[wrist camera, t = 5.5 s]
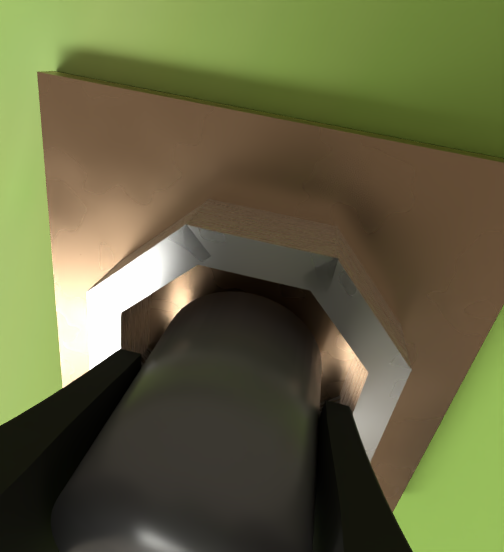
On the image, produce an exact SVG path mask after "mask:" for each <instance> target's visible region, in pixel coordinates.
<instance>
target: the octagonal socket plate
mask: <svg viewBox="0 0 504 552" xmlns="http://www.w3.org/2000/svg"><path fill="white" fill-rule="evenodd" d="M37 75H38V87H39V100H40V112H41V124H42V137H43V149H44V162H45V174H46V186H47V199H48V211H49V223H50V236H51V248H52V260H53V273H54V285H55V298H56V310H57V322H58V335H59V347H60V359H61V372H62V384H63V388H64V387H65V386H67V385H68V384H70V383H71V382H73V381H74V380H76V379H77V378H79V377H80V376H81V375H83V374H84V373H86V372H87V371H89V370H90V369H92V368H93V367H94V366H96V365H97V364H99V363H100V362H102V361H103V360H104V359H106V358H107V357H109V356H110V355H112V354H113V353H114V352H116V351H118V350H119V349H124V350H128V351H132V352H136V353H140V354H142V357H141V368H142V366H143V364H144V363H145V361H146V360H147V358H148V357H149V355H150V354H151V352H152V350H153V349H154V347H155V346H156V344H157V343H158V341H159V340H160V338H161V336H162V335H163V333H164V332H165V330H166V329H167V327H168V326H169V324H170V322H171V321H172V319H173V318H174V317H175V315H176V314H177V313H178V312H179V311H180V310H181V309H182V308H183V307H184V306H186V305H187V304H188V303H190V302H192V301H193V300H195V299H197V298H199V297H202V296H205V295H208V294H213V293H217V292H228V291H233V292H245V293H251V294H255V295H259V296H263V297H265V298H268V299H270V300H273V301H275V302H277V303H279V304H280V305H282V306H284V307H285V308H287V309H288V310H290V311H291V312H293V313H294V314H295V315H296V316H297V317H298V318H299V319H301V320H302V322H303V323H304V324H305V325H306V326H307V327H308V329H309V330H310V332H311V333H312V335H313V336H314V338H315V340H316V342H317V344H318V347H319V350H320V354H321V360H322V374H321V394H320V414H319V418H320V415H321V412H322V409H323V406H324V403H325V400H327V401H331V402H335V403H339V404H343V405H347V406H349V407H350V409H351V410H352V414H353V417H354V420H355V423H356V426H357V429H358V432H359V435H360V438H361V440H362V443H363V446H364V448H365V451H366V454H367V456H368V459H369V461H370V464H371V466H372V468H373V471H374V473H375V475H376V478H377V480H378V482H379V485H380V487H381V489H382V492H383V494H384V496H385V498H386V500H387V502H388V504H389V507H390V509H391V511H392V513H393V511H394V509H395V507H396V505H397V503H398V501H399V499H400V498H401V496H402V494H403V492H404V490H405V488H406V486H407V484H408V483H409V481H410V479H411V477H412V475H413V473H414V471H415V469H416V468H417V466H418V464H419V462H420V460H421V458H422V456H423V454H424V453H425V451H426V449H427V447H428V445H429V443H430V441H431V440H432V438H433V436H434V434H435V432H436V430H437V428H438V426H439V425H440V423H441V421H442V419H443V417H444V415H445V413H446V411H447V410H448V408H449V406H450V404H451V402H452V400H453V398H454V396H455V395H456V393H457V391H458V389H459V387H460V385H461V383H462V381H463V380H464V378H465V376H466V374H467V372H468V370H469V368H470V367H471V365H472V363H473V361H474V359H475V357H476V355H477V353H478V352H479V350H480V348H481V346H482V344H483V342H484V340H485V338H486V337H487V335H488V333H489V331H490V329H491V327H492V325H493V323H494V322H495V320H496V318H497V316H498V314H499V312H500V310H501V308H502V307H503V305H504V158H499V157H494V156H489V155H483V154H478V153H473V152H468V151H463V150H458V149H453V148H447V147H442V146H437V145H432V144H427V143H422V142H417V141H411V140H406V139H401V138H396V137H391V136H386V135H380V134H375V133H370V132H365V131H360V130H355V129H350V128H344V127H339V126H334V125H329V124H324V123H319V122H314V121H308V120H303V119H298V118H293V117H288V116H283V115H277V114H272V113H267V112H262V111H257V110H252V109H247V108H241V107H236V106H231V105H226V104H221V103H216V102H211V101H205V100H200V99H195V98H190V97H185V96H180V95H174V94H169V93H164V92H159V91H154V90H149V89H144V88H138V87H133V86H128V85H123V84H118V83H113V82H108V81H102V80H97V79H92V78H87V77H82V76H77V75H72V74H66V73H61V72H56V71H46V72H37Z"/></svg>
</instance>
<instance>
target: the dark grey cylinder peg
mask: <svg viewBox="0 0 504 552" xmlns="http://www.w3.org/2000/svg"><path fill="white" fill-rule="evenodd" d="M321 374H322V360H321V354H320V350H319V347H318V344H317V342H316V340H315V338H314V336H313V335H312V333H311V332H310V330H309V329H308V327H307V326H306V325H305V324H304V323H303V322H302V320H301V319H299V318H298V317H297V316H296V315H295V314H294V313H293V312H291V311H290V310H288V309H287V308H285V307H284V306H282V305H280V304H279V303H277V302H275V301H273V300H270V299H268V298H265V297H263V296H259V295H255V294H251V293H245V292H233V291H228V292H217V293H213V294H208V295H205V296H202V297H199V298H197V299H195V300H193V301H192V302H190V303H188V304H187V305H186V306H184V307H183V308H182V309H181V310H180V311H179V312H178V313H177V314H176V315H175V317H174V318H173V319H172V321H171V322H170V324H169V326H168V327H167V329H166V330H165V332H164V333H163V335H162V336H161V338H160V340H159V341H158V343H157V344H156V346H155V347H154V349H153V350H152V352H151V354H150V355H149V357H148V358H147V360H146V361H145V363H144V364H143V366H142V368H141V369H140V371H139V372H138V374H137V375H136V377H135V378H134V380H133V382H132V383H131V385H130V386H129V388H128V389H127V391H126V393H125V394H124V396H123V397H122V399H121V400H120V402H119V403H118V405H117V407H116V408H115V410H114V411H113V413H112V414H111V416H110V417H109V419H108V421H107V422H106V424H105V425H104V427H103V428H102V430H101V431H100V433H99V435H98V436H97V438H96V439H95V441H94V442H93V444H92V445H91V447H90V449H89V450H88V452H87V453H86V455H85V456H84V458H83V459H82V461H81V463H80V464H79V466H78V467H77V469H76V470H75V472H74V473H73V475H72V477H71V478H70V480H69V481H68V483H67V484H66V486H65V487H64V489H63V491H62V492H61V494H60V495H59V497H58V498H57V500H56V502H55V504H54V506H53V509H52V513H51V530H52V534H53V538H54V541H55V543H56V545H57V547H58V549H59V551H60V552H313V533H314V513H315V493H316V474H317V454H318V434H319V414H320V394H321Z"/></svg>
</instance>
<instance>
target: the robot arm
mask: <svg viewBox="0 0 504 552" xmlns="http://www.w3.org/2000/svg"><path fill="white" fill-rule="evenodd" d="M141 357H142V354H140V353H136V352H132V351H128V350H124V349H119V350H118V351H116V352H114V353H113V354H112V355H110V356H109V357H107V358H106V359H104V360H103V361H102V362H100V363H99V364H97V365H96V366H94V367H93V368H92V369H90V370H89V371H87V372H86V373H84V374H83V375H81V376H80V377H79V378H77V379H76V380H74V381H73V382H71V383H70V384H68V385H67V386H65V387H64V388H62V389H61V390H59V391H57V392H56V393H54V394H53V395H51V396H50V397H48V398H47V399H45V400H43V401H42V402H40V403H38V404H37V405H35V406H33V407H32V408H30V409H28V410H27V411H25V412H23V413H22V414H20V415H18V416H17V417H15V418H13V419H12V420H10V421H8V422H6V423H4V424H3V425H1V426H0V552H60V551H59V549H58V547H57V545H56V543H55V541H54V538H53V534H52V530H51V513H52V509H53V506H54V504H55V502H56V500H57V498H58V497H59V495H60V494H61V492H62V491H63V489H64V487H65V486H66V484H67V483H68V481H69V480H70V478H71V477H72V475H73V473H74V472H75V470H76V469H77V467H78V466H79V464H80V463H81V461H82V459H83V458H84V456H85V455H86V453H87V452H88V450H89V449H90V447H91V445H92V444H93V442H94V441H95V439H96V438H97V436H98V435H99V433H100V431H101V430H102V428H103V427H104V425H105V424H106V422H107V421H108V419H109V417H110V416H111V414H112V413H113V411H114V410H115V408H116V407H117V405H118V403H119V402H120V400H121V399H122V397H123V396H124V394H125V393H126V391H127V389H128V388H129V386H130V385H131V383H132V382H133V380H134V378H135V377H136V375H137V374H138V372H139V371H140V369H141ZM313 552H413V551H412V549H411V548H410V546H409V544H408V542H407V540H406V538H405V536H404V535H403V533H402V531H401V529H400V527H399V525H398V523H397V521H396V519H395V517H394V515H393V513H392V511H391V509H390V507H389V504H388V502H387V500H386V498H385V496H384V494H383V492H382V489H381V487H380V485H379V482H378V480H377V478H376V475H375V473H374V471H373V468H372V466H371V464H370V461H369V459H368V456H367V454H366V451H365V448H364V446H363V443H362V440H361V438H360V435H359V432H358V429H357V426H356V423H355V420H354V417H353V414H352V410H351V409H350V407H349V406H347V405H343V404H339V403H335V402H331V401H327V400H325V403H324V406H323V409H322V412H321V415H320V418H319V434H318V454H317V474H316V493H315V513H314V533H313Z"/></svg>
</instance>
